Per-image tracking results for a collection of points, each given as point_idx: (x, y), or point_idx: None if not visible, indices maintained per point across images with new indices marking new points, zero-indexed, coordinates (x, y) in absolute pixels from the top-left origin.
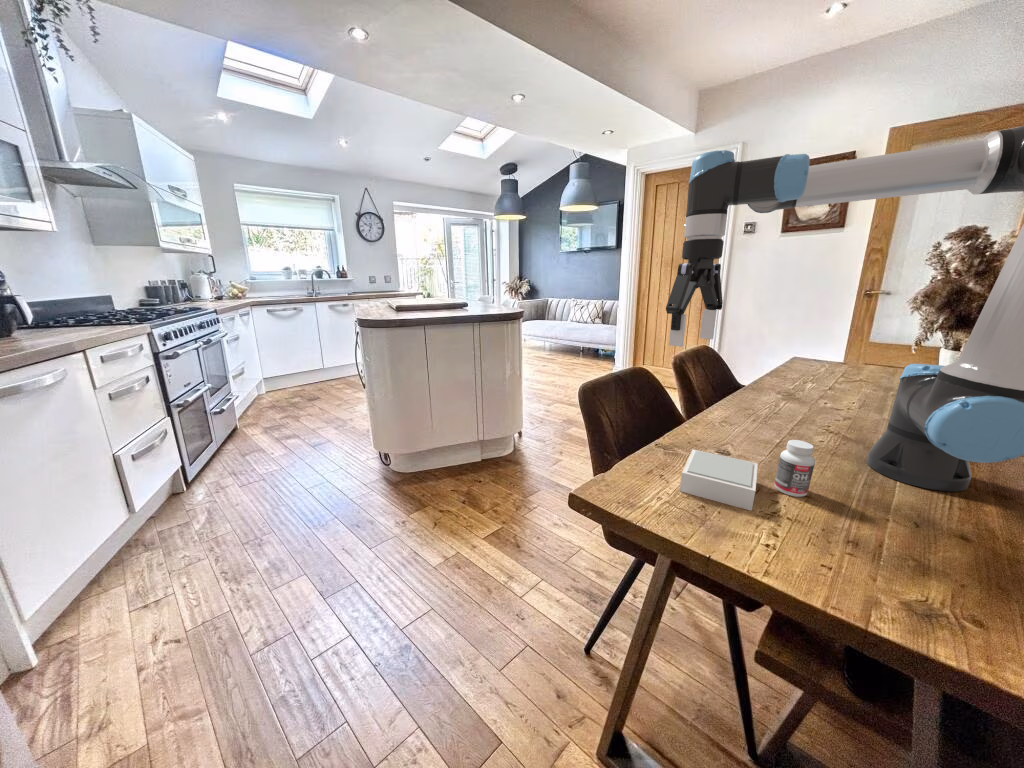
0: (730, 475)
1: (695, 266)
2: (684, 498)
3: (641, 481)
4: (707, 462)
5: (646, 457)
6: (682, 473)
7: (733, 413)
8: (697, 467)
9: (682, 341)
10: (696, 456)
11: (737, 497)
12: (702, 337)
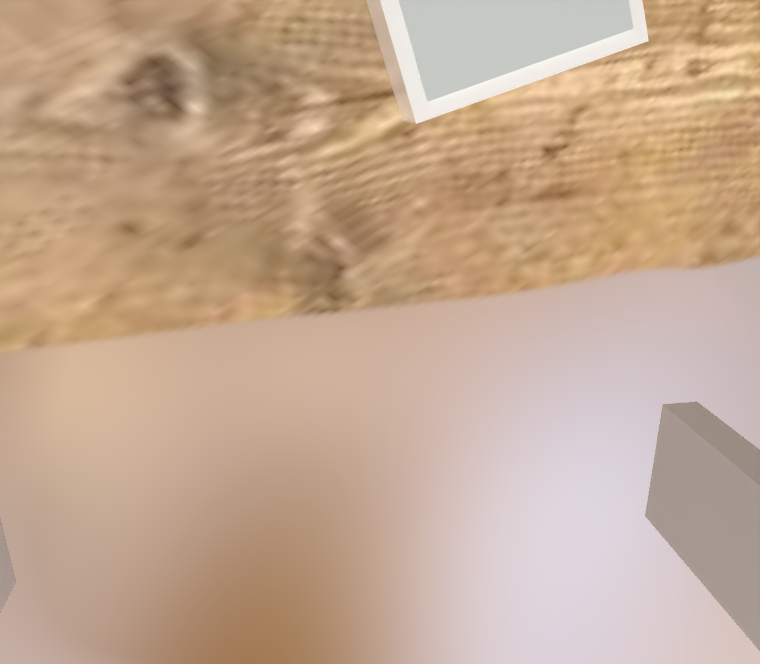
0: None
1: None
2: None
3: (636, 172)
4: (507, 6)
5: (461, 269)
6: (646, 38)
7: None
8: (581, 13)
9: (718, 427)
10: (486, 68)
11: None
12: (3, 564)
